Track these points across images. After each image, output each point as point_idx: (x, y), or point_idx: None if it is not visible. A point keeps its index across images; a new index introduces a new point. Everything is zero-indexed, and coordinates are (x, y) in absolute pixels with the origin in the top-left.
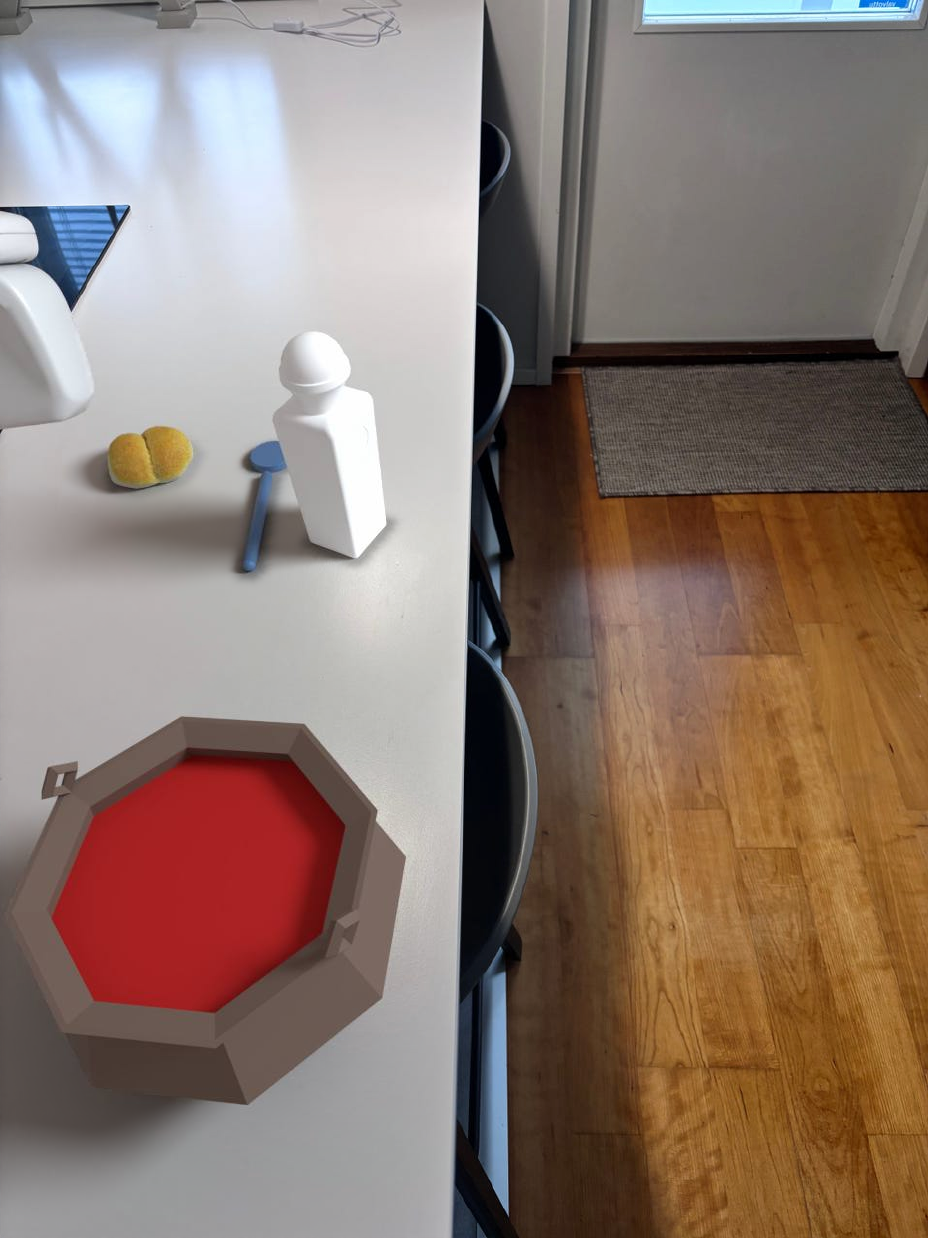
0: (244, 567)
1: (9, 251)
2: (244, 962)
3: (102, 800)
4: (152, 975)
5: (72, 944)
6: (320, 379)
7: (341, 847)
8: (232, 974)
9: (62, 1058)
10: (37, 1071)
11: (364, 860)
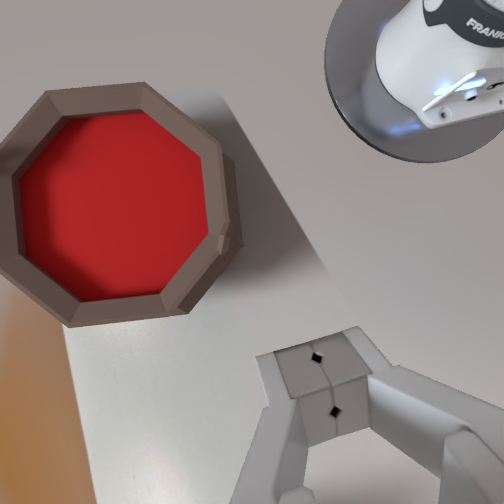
0: None
1: None
2: (72, 160)
3: (203, 240)
4: (126, 142)
5: (185, 151)
6: None
7: (15, 236)
8: (77, 152)
9: (228, 154)
10: (237, 146)
11: None
